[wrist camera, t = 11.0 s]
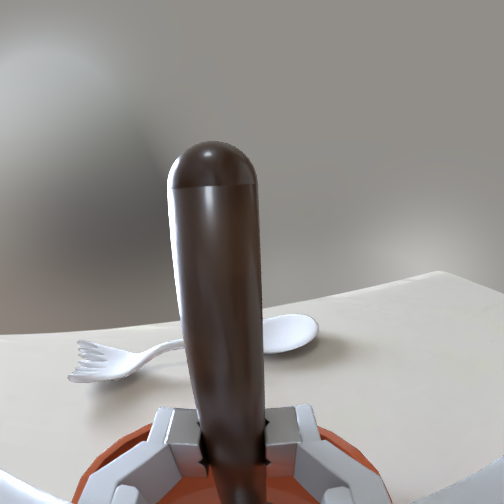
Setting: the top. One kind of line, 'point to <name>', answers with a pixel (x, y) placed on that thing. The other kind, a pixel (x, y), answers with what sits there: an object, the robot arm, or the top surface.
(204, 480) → the bowl
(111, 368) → the spoon
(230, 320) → the brown rod on stand
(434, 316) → the top surface
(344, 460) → the robot arm
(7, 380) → the top surface
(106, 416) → the top surface
